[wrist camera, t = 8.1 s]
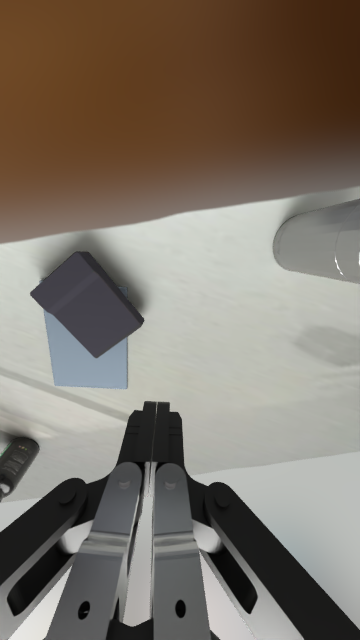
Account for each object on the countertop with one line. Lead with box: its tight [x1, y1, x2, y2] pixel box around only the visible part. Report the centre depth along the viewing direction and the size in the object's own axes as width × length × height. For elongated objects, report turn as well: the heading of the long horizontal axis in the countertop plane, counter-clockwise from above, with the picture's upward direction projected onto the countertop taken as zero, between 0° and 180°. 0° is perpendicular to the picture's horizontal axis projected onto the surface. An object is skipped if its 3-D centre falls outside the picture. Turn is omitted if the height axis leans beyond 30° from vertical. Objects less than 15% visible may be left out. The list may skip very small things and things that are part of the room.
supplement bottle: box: [0, 438, 39, 502], centre depth 43 cm, size 7×7×12 cm
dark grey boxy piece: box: [30, 252, 144, 358], centre depth 34 cm, size 11×4×15 cm
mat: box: [39, 280, 127, 389], centre depth 39 cm, size 15×22×1 cm
